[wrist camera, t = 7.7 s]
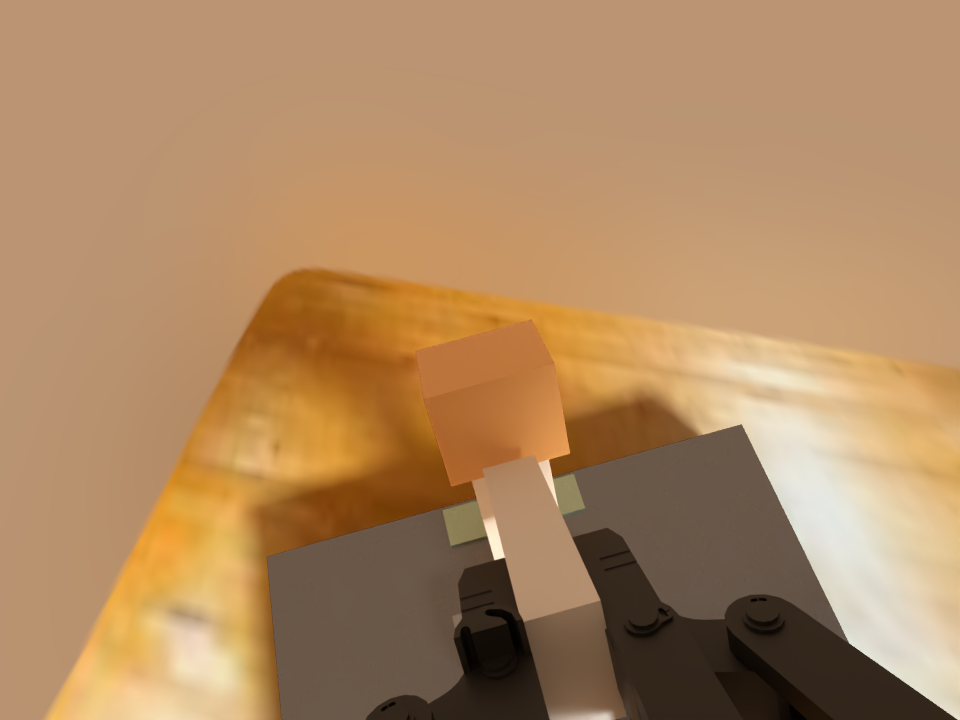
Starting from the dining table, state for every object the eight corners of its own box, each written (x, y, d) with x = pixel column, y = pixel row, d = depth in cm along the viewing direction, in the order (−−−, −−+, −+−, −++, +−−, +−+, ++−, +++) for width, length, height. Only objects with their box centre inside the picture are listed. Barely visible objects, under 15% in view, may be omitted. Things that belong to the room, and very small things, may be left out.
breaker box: (721, 454, 33) (753, 406, 28) (842, 716, 27) (912, 718, 22) (297, 573, 32) (248, 546, 27) (330, 868, 26) (276, 908, 21)
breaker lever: (585, 604, 27) (531, 319, 20) (606, 661, 24) (554, 363, 17) (500, 628, 27) (415, 350, 19) (514, 687, 24) (423, 398, 17)
